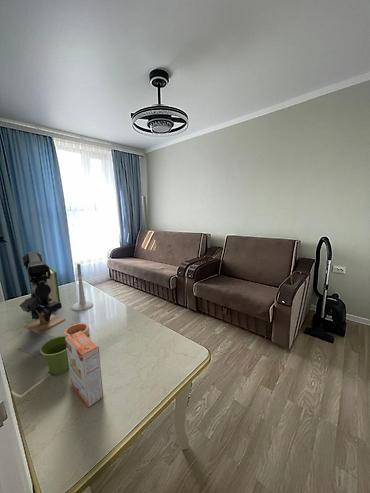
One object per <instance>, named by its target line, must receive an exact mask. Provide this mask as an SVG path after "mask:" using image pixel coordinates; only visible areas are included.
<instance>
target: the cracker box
mask: <svg viewBox="0 0 370 493" xmlns="http://www.w3.org/2000/svg"><path fill="white" fill-rule="evenodd" d="M65 340H66V347H67V355H68V362H69V368H68V369H69V375H70V382H71V383H70V384H71V386H72V387H73V389H74V390H75V392H76V393H77V395H79V397H80V398H81V399H82V401H83V403H84V404H85V405H86V407H87V409H89V408H91V407H92V406H94V405H95V404H96V403H97V402H98V401H100V400H101V399H102V398H103V397H104V389H103V388H104V387H103V377H102V367H101V357H100V347H99V346H98V344H96V343H95V342H94V341H93V340H92V339H91V338H89V337H88V336H86V335H85V334H84V333H83V332H82V331H79V332H77V333H74V334H72V335H70V336H68V337H66V338H65Z"/></svg>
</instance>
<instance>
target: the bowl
mask: <svg viewBox="0 0 370 493" xmlns="http://www.w3.org/2000/svg"><path fill="white" fill-rule="evenodd" d="M79 331H82V332H83V333H84V334H85V335H86V336H87V337H88V336H89V334H90V326H89V324H88V323H85V322H79V323H75V324H72V325H70V326H67V327H66V328H65V329H64V331H63V336H70V335H72V334H74V333H77V332H79Z"/></svg>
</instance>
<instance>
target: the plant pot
mask: <svg viewBox="0 0 370 493" xmlns="http://www.w3.org/2000/svg"><path fill="white" fill-rule="evenodd" d="M54 337H55V338H52V339H50V340H48V341H47V342H45V343H44V344H43V345H42V346H41V348H40V353H41V354H40V355H42V357H43V358H44V360H45V363H46V365H47V367H48V371H49V374H50V375H56V376H57V375H60V374H63V373H65V372H66V371H67V370H68V369H69V362H68V355H67V347H66V340H65V338H66V337H68V336H64V335H60V336H59V335H58V336H54Z"/></svg>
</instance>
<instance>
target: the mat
mask: <svg viewBox="0 0 370 493" xmlns="http://www.w3.org/2000/svg"><path fill="white" fill-rule="evenodd" d="M55 337H56V336H54V335H50V334H48V333H46V332H44V333H42V334H40V335H39V336H38V337H36V338H34V339H33V340H30V341H29V342H27V343H26V344H24V345H22V346H19V347H18V348H17V350H19V351H20V352H21V351H22V352H24V353H26V354H28V355H31V356H32V357H38V356H40V355H42V354H41V353H40V348H41V346H42V345H43V344H44V343H45V342H47V341H48V340H50V339H52V338H55Z"/></svg>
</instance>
